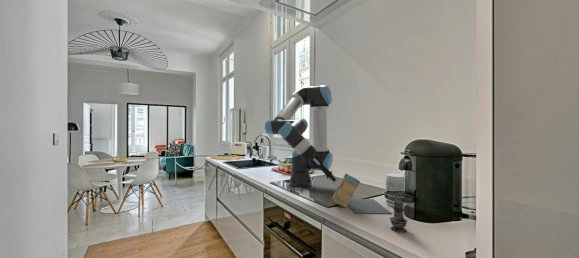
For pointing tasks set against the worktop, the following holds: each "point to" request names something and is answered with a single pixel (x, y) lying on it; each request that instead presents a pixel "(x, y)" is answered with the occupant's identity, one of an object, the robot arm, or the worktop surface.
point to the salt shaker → (398, 217)
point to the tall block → (345, 190)
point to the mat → (367, 207)
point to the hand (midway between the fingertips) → (339, 185)
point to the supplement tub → (394, 185)
